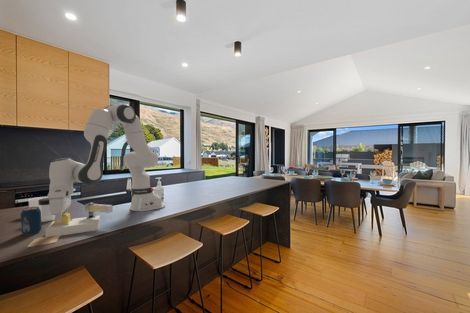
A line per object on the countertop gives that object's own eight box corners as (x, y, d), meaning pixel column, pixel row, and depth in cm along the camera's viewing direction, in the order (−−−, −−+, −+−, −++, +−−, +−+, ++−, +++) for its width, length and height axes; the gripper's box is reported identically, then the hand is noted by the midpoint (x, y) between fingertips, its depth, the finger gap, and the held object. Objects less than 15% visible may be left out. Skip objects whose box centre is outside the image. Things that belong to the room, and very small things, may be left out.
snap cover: (70, 220, 105) (70, 212, 105) (67, 224, 101) (67, 214, 100) (57, 222, 103) (57, 213, 102) (54, 225, 98) (54, 216, 98)
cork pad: (61, 235, 97) (61, 234, 97) (55, 242, 89) (55, 242, 89) (35, 239, 93) (35, 238, 93) (27, 247, 85) (27, 246, 85)
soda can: (41, 228, 105) (40, 205, 104) (41, 232, 100) (40, 208, 99) (22, 232, 100) (21, 208, 100) (21, 237, 95) (20, 211, 95)
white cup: (34, 217, 123) (33, 200, 123) (25, 215, 126) (25, 199, 125) (49, 213, 131) (49, 197, 130) (41, 212, 133) (40, 196, 133)
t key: (89, 215, 113) (89, 202, 112) (113, 217, 109) (112, 203, 109) (84, 217, 110) (84, 203, 110) (108, 219, 107) (108, 205, 106)
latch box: (100, 222, 114) (100, 214, 114) (97, 230, 103) (97, 220, 103) (53, 229, 105) (53, 220, 104) (45, 238, 94) (45, 228, 94)
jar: (36, 223, 113) (35, 201, 113) (39, 218, 120) (39, 198, 120) (57, 219, 118) (57, 199, 118) (59, 216, 125) (59, 196, 124)
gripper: (59, 188, 109) (59, 214, 109) (46, 195, 91) (46, 226, 91) (74, 187, 112) (74, 212, 112) (64, 194, 93) (65, 224, 94)
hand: (62, 219), depth 101 cm, fingers open, 8 cm apart
